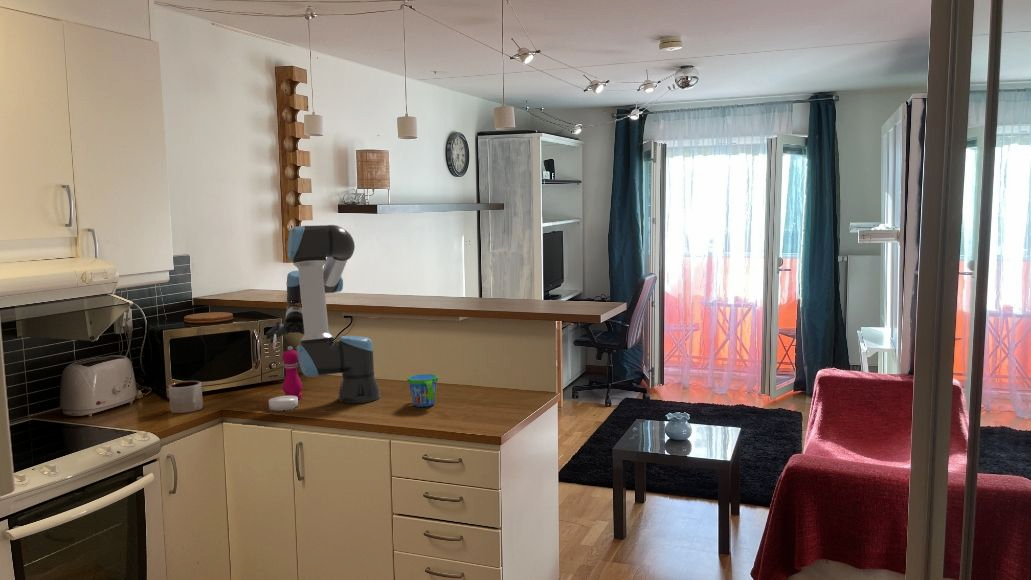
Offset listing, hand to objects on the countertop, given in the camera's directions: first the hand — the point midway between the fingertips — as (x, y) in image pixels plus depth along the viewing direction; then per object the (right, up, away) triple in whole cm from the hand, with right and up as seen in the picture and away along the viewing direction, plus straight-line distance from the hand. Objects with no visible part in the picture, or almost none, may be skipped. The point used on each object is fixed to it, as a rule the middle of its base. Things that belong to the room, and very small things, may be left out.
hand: (293, 345), depth 291 cm
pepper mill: (0, -20, -1) cm, 20 cm away
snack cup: (+51, -20, -16) cm, 57 cm away
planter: (-35, -22, -12) cm, 43 cm away
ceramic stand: (0, -21, -13) cm, 25 cm away
